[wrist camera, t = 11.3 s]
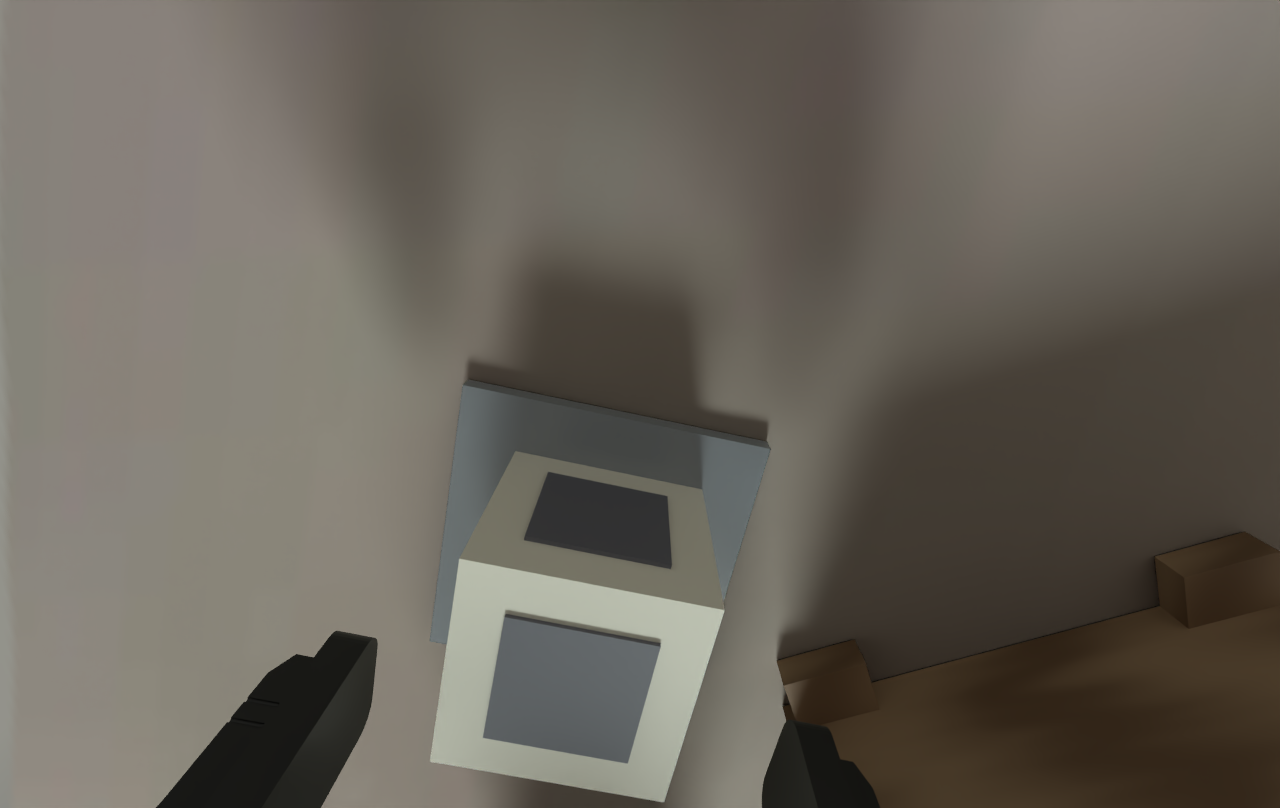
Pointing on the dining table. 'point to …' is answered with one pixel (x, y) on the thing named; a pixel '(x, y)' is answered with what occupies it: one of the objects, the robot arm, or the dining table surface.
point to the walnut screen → (1080, 703)
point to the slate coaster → (598, 440)
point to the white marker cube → (579, 629)
